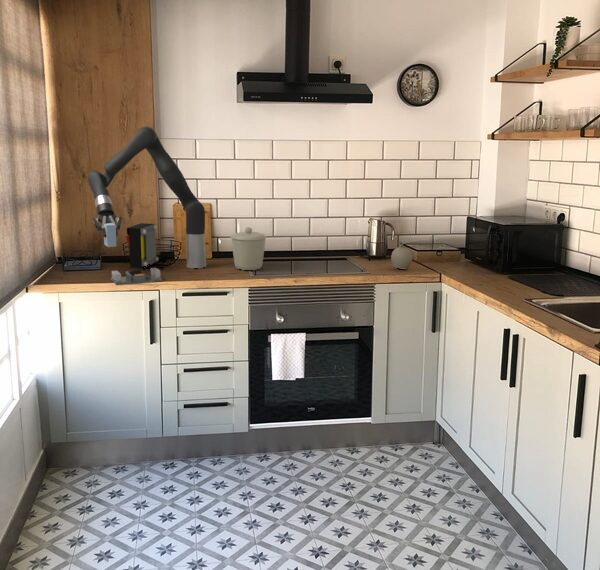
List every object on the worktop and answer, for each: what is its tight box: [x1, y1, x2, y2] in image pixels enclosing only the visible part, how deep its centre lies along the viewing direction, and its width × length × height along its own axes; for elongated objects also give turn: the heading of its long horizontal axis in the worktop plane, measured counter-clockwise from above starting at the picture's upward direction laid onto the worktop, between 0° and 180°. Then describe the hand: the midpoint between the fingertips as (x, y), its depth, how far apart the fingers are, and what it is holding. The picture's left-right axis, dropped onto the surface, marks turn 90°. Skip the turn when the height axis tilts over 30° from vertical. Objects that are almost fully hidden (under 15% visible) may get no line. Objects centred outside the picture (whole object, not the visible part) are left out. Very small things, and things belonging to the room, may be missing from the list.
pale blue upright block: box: [103, 223, 117, 248], centre depth 324 cm, size 8×4×10 cm, turn 26°
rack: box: [110, 267, 163, 286], centre depth 322 cm, size 12×21×4 cm, turn 116°
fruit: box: [390, 241, 413, 269], centre depth 356 cm, size 10×12×15 cm
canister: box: [229, 226, 268, 271], centre depth 350 cm, size 18×18×21 cm
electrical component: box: [125, 222, 159, 269], centre depth 356 cm, size 18×10×20 cm, turn 168°
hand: (110, 236), depth 322 cm, fingers closed on pale blue upright block, 4 cm apart
